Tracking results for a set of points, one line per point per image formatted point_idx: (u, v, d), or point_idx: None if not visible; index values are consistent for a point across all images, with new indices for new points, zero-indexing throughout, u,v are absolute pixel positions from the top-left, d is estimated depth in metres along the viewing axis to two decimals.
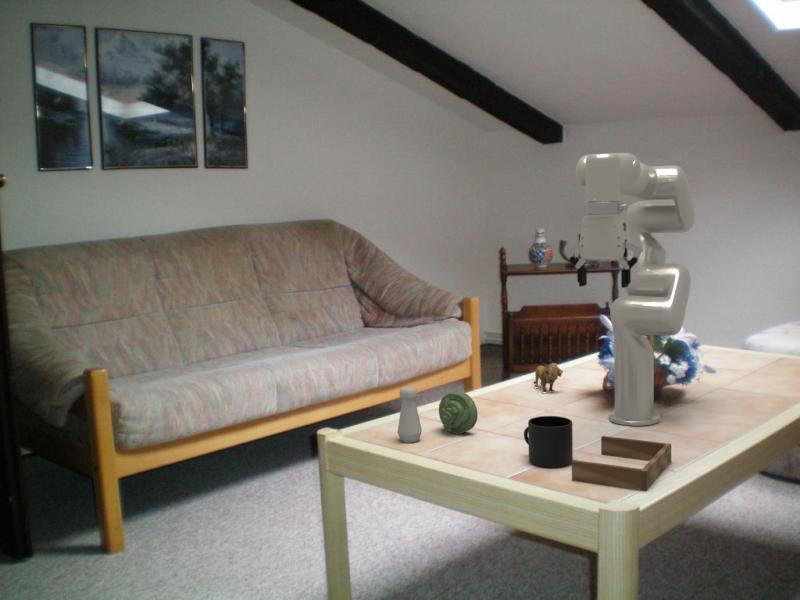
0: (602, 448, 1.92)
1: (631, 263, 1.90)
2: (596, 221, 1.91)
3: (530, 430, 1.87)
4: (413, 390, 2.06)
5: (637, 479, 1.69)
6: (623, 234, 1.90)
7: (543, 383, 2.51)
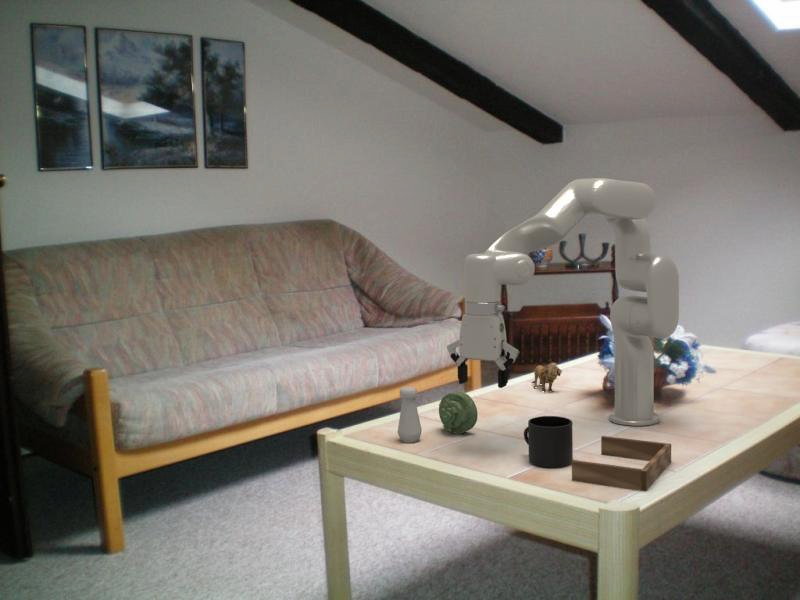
0: (602, 448, 1.92)
1: (507, 364, 1.90)
2: (474, 321, 1.92)
3: (530, 430, 1.87)
4: (413, 390, 2.06)
5: (637, 479, 1.69)
6: (500, 335, 1.90)
7: (542, 383, 2.52)
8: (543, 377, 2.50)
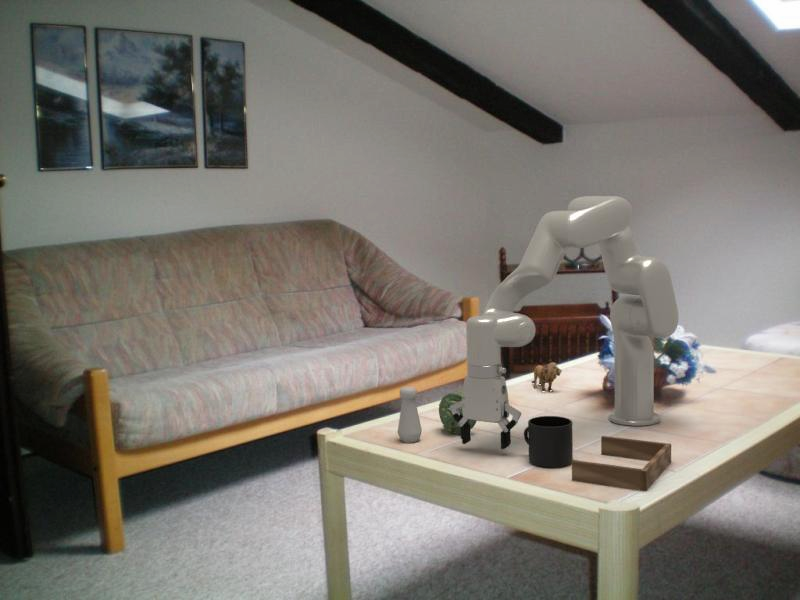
0: (602, 448, 1.92)
1: (510, 426, 1.92)
2: (476, 384, 1.93)
3: (530, 430, 1.87)
4: (413, 390, 2.06)
5: (637, 479, 1.69)
6: (502, 397, 1.92)
7: (542, 382, 2.52)
8: (543, 377, 2.51)
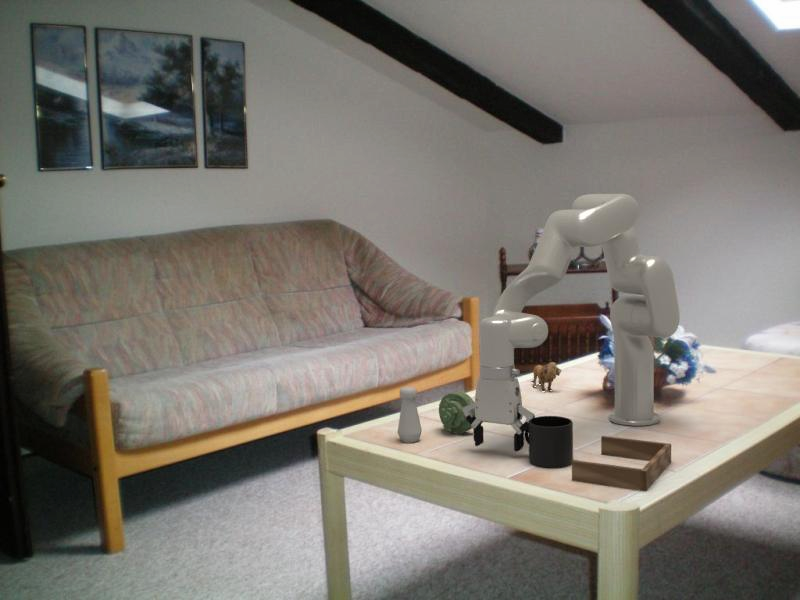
0: (602, 448, 1.92)
1: (523, 428, 1.91)
2: (489, 385, 1.92)
3: (530, 430, 1.87)
4: (413, 390, 2.06)
5: (637, 479, 1.69)
6: (515, 399, 1.90)
7: (542, 382, 2.52)
8: (542, 377, 2.51)
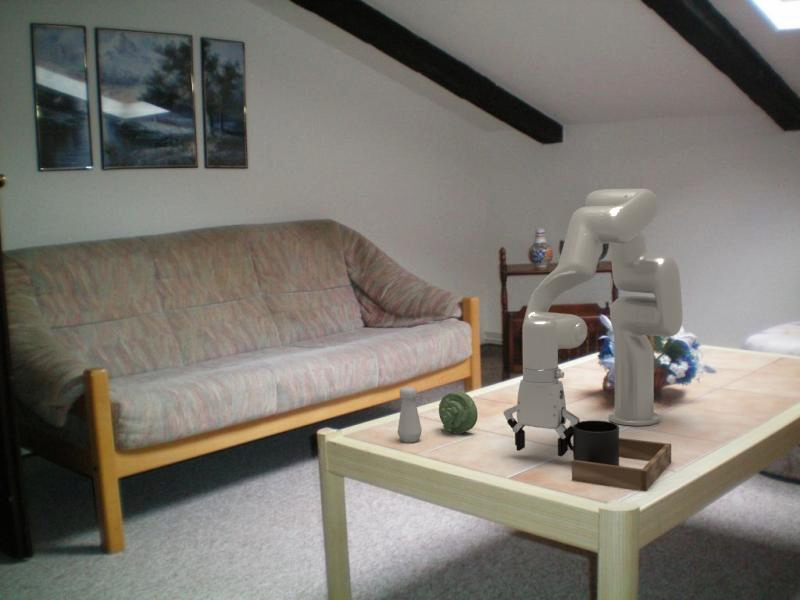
0: None
1: (567, 432, 1.85)
2: (532, 388, 1.86)
3: (576, 435, 1.81)
4: (413, 390, 2.06)
5: (637, 479, 1.69)
6: (559, 402, 1.85)
7: None
8: None
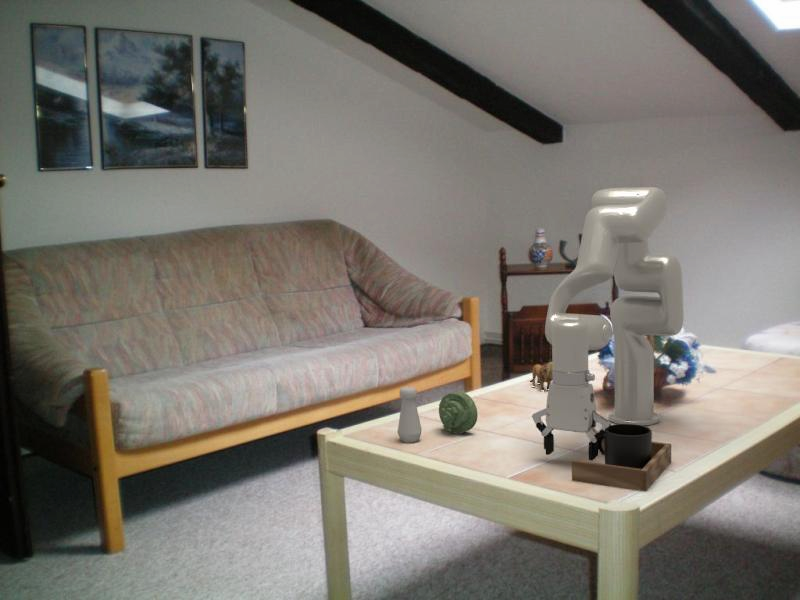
0: None
1: (599, 436, 1.82)
2: (562, 391, 1.83)
3: (608, 439, 1.78)
4: (413, 390, 2.06)
5: (637, 479, 1.69)
6: (590, 406, 1.81)
7: (541, 382, 2.53)
8: (542, 376, 2.52)
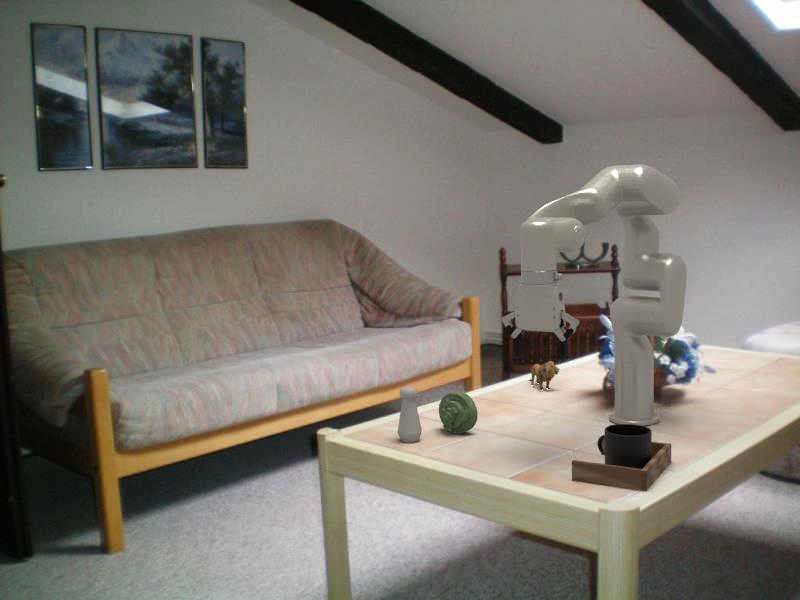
0: None
1: (567, 335, 1.83)
2: (531, 291, 1.84)
3: (608, 439, 1.78)
4: (413, 390, 2.06)
5: (637, 479, 1.69)
6: (559, 305, 1.83)
7: (540, 381, 2.54)
8: (541, 376, 2.52)
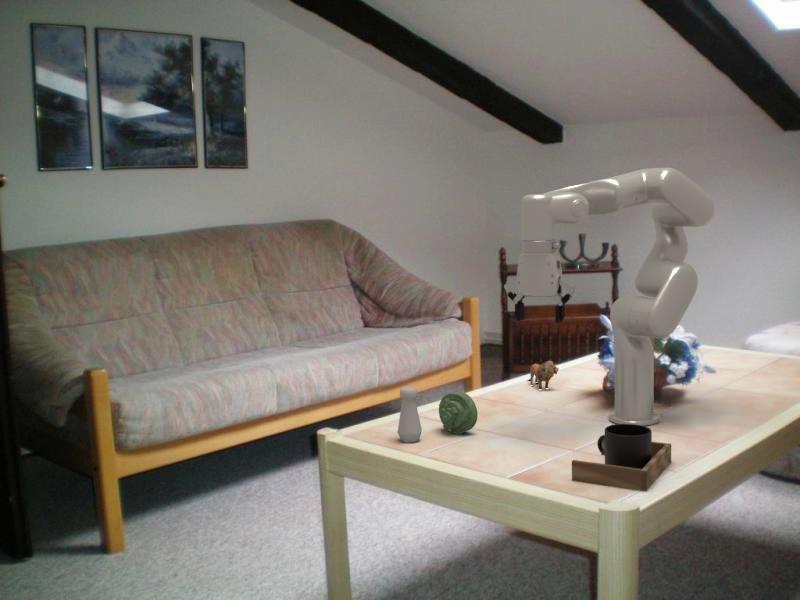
0: None
1: (564, 299, 1.98)
2: (531, 259, 1.99)
3: (608, 439, 1.78)
4: (413, 390, 2.06)
5: (637, 479, 1.69)
6: (557, 272, 1.98)
7: (539, 381, 2.54)
8: (540, 375, 2.53)
